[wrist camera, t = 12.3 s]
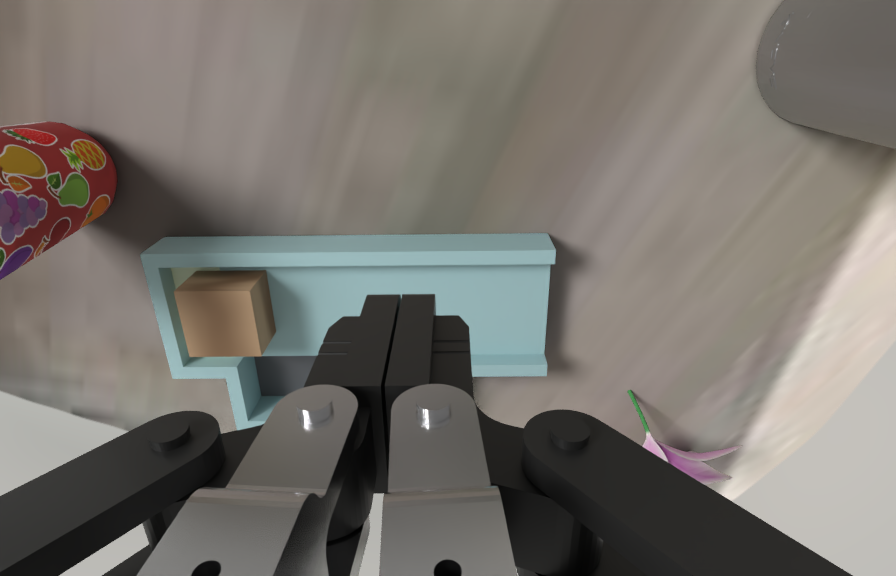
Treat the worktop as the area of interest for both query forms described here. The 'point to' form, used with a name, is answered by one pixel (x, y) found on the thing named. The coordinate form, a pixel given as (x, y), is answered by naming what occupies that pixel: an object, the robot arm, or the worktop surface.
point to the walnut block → (226, 313)
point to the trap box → (358, 299)
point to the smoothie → (48, 188)
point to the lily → (685, 456)
